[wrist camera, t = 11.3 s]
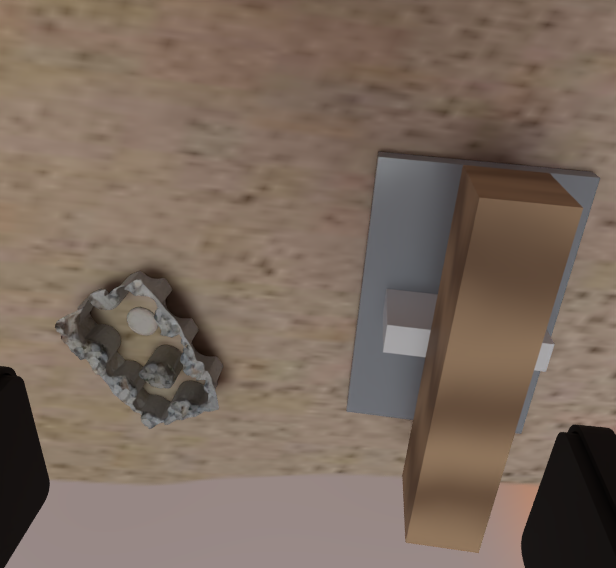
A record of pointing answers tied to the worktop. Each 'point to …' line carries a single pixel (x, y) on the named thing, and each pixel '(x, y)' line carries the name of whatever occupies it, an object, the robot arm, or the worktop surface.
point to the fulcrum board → (423, 276)
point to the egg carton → (162, 364)
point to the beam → (483, 347)
